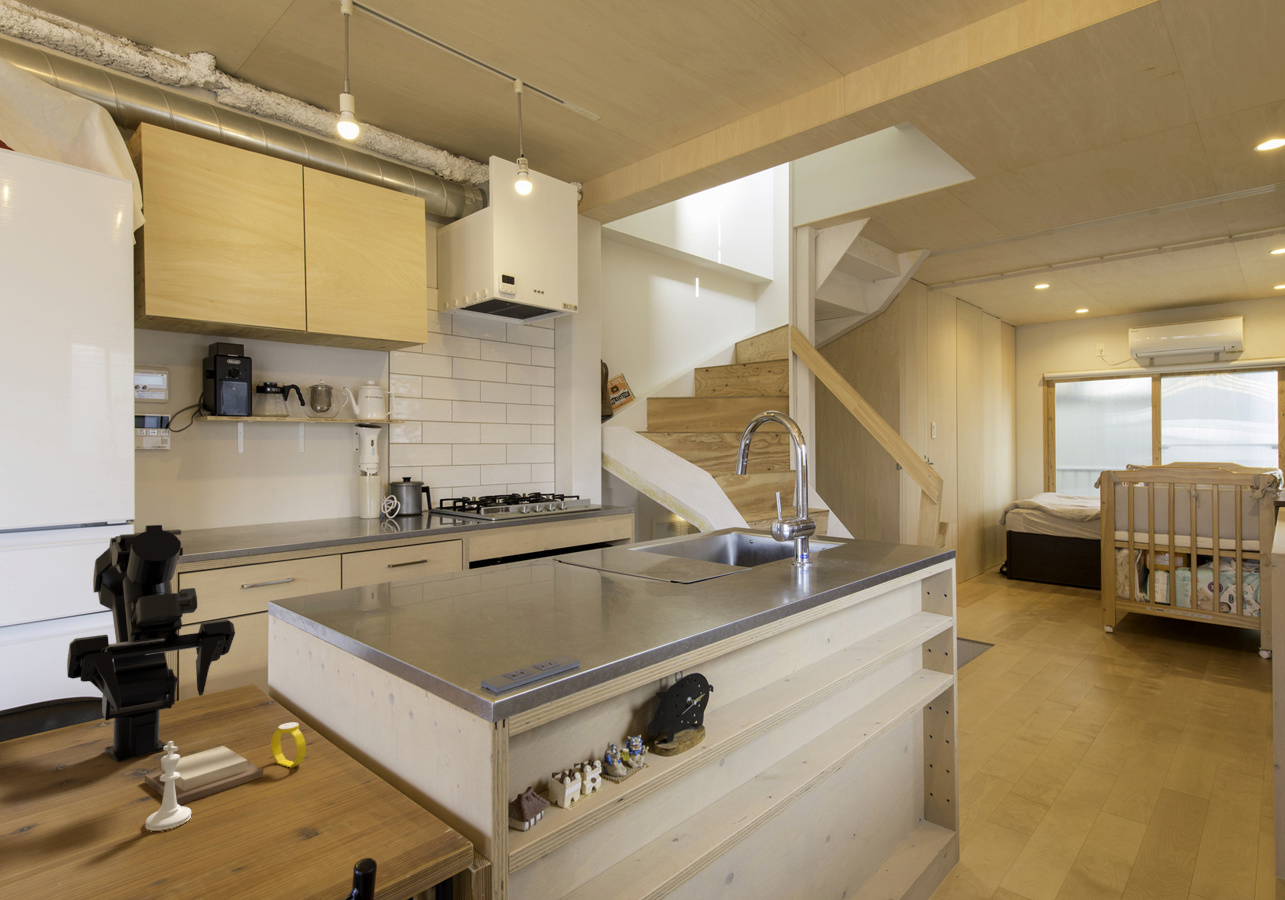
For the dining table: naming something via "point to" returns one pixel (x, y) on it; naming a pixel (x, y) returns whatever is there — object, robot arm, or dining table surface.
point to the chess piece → (169, 796)
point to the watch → (299, 740)
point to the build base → (207, 787)
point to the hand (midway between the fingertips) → (161, 701)
